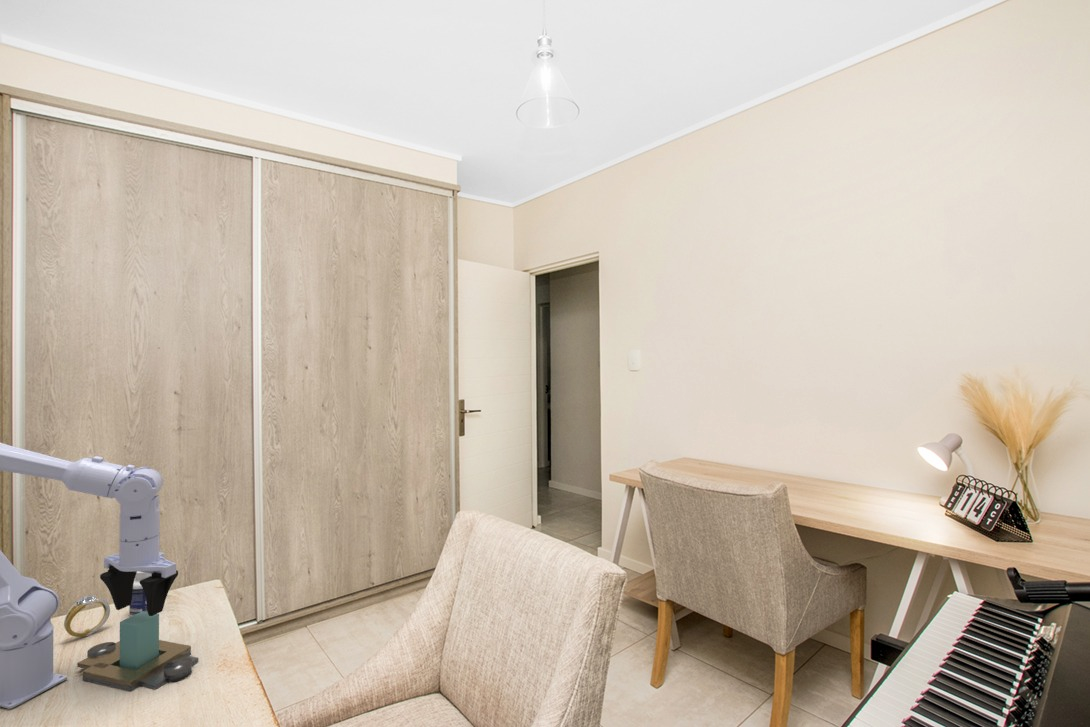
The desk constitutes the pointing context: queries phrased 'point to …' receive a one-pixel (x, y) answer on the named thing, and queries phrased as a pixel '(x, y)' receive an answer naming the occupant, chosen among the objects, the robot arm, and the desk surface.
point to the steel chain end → (158, 674)
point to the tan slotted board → (105, 668)
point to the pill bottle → (138, 595)
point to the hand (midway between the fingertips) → (139, 610)
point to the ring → (73, 611)
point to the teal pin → (139, 640)
